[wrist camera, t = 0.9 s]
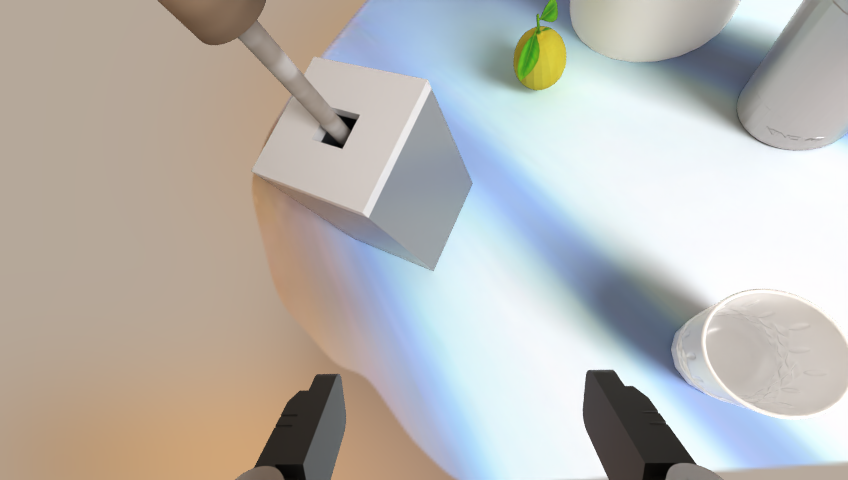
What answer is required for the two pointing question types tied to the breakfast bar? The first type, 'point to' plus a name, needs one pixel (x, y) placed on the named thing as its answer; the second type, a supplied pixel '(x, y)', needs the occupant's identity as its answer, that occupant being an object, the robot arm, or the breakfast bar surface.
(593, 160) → the breakfast bar surface
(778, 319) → the white cup
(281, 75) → the plunger
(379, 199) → the grey upright block
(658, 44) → the white stepped oval block
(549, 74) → the lemon
